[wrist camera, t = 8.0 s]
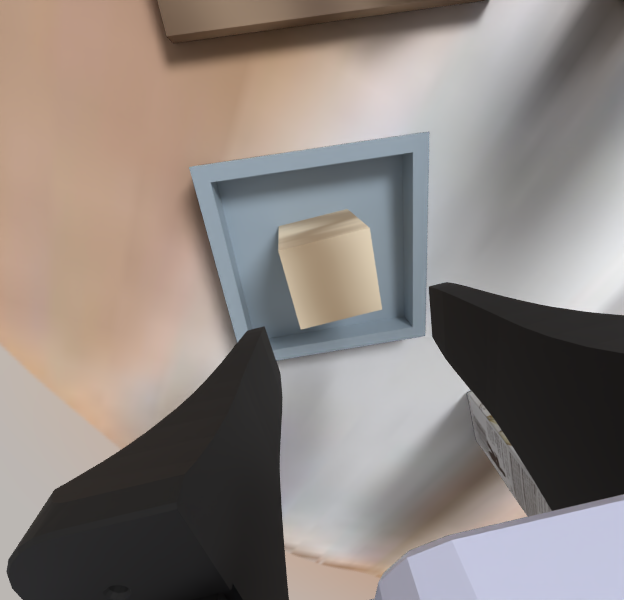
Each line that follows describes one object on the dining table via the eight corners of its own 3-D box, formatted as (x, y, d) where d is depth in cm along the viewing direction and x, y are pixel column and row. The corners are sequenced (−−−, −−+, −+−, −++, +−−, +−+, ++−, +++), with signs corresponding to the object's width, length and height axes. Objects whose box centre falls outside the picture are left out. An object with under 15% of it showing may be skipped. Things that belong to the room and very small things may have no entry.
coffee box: (578, 351, 25) (1003, 635, 10) (578, 409, 28) (914, 700, 13) (463, 390, 25) (710, 712, 11) (474, 443, 28) (683, 758, 14)
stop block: (347, 208, 18) (369, 228, 14) (358, 273, 20) (382, 309, 15) (278, 226, 18) (278, 250, 14) (295, 289, 20) (300, 329, 15)
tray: (413, 133, 17) (429, 131, 16) (413, 321, 22) (425, 335, 21) (198, 165, 17) (189, 167, 15) (246, 348, 22) (243, 365, 20)
